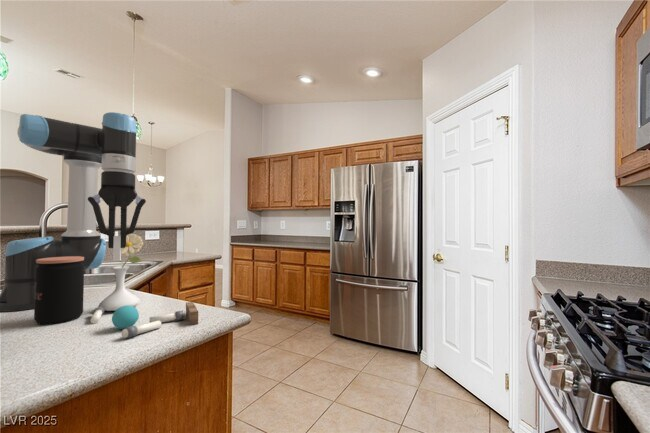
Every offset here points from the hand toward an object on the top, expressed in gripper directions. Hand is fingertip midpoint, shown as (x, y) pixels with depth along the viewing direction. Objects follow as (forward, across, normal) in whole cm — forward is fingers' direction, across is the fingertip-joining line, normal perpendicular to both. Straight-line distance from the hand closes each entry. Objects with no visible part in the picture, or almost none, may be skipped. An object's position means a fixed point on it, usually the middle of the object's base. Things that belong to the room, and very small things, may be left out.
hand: (117, 260), depth 79 cm
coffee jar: (+19, -15, +19) cm, 31 cm away
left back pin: (+17, -6, +9) cm, 20 cm away
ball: (+15, +2, 0) cm, 16 cm away
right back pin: (+17, +10, -4) cm, 20 cm away
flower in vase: (+19, 0, +23) cm, 30 cm away
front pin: (+17, +8, 0) cm, 19 cm away
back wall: (+18, +18, 0) cm, 26 cm away
